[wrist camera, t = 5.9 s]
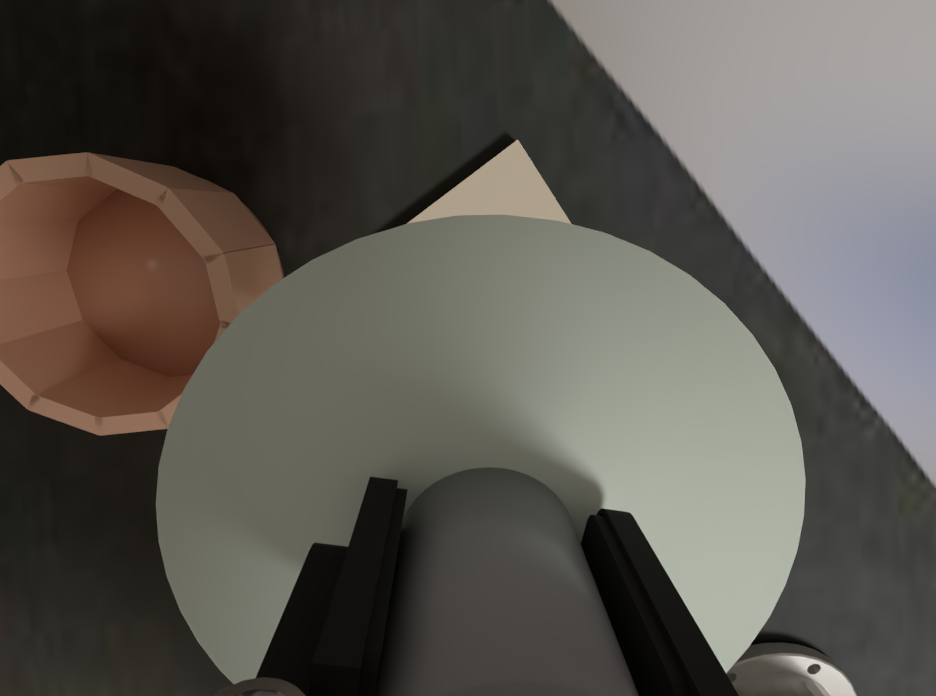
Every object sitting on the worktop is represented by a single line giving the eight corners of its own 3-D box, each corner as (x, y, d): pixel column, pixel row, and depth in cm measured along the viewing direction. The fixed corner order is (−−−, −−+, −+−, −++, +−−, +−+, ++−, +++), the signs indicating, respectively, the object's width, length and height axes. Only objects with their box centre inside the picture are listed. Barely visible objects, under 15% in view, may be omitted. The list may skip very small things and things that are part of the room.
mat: (666, 377, 27) (670, 380, 26) (462, 508, 29) (463, 514, 28) (516, 141, 23) (517, 139, 23) (295, 308, 25) (291, 310, 25)
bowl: (330, 306, 25) (293, 334, 20) (177, 421, 27) (101, 478, 21) (178, 120, 23) (85, 89, 17) (18, 258, 24) (-118, 273, 18)
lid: (870, 573, 11) (1202, 862, 6) (421, 813, 13) (402, 1190, 8) (582, 57, 8) (789, -187, 3) (42, 463, 10) (-379, 722, 5)
